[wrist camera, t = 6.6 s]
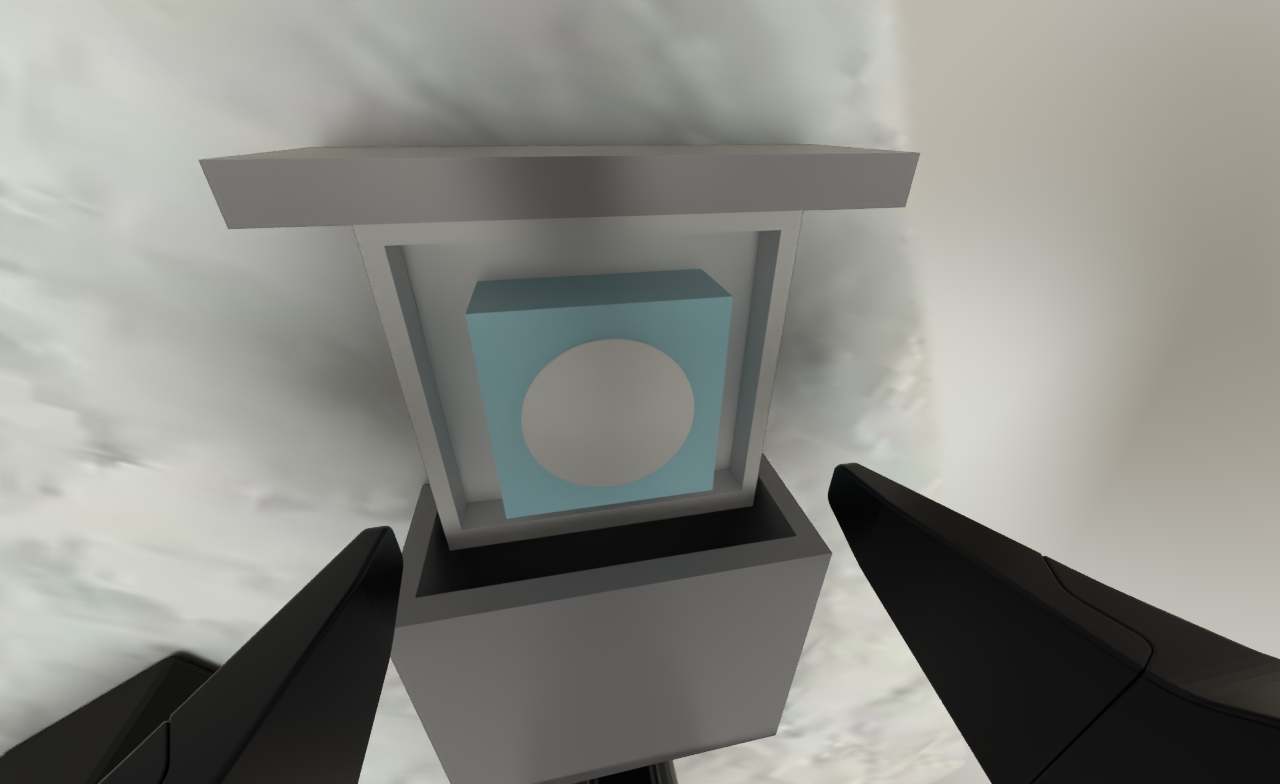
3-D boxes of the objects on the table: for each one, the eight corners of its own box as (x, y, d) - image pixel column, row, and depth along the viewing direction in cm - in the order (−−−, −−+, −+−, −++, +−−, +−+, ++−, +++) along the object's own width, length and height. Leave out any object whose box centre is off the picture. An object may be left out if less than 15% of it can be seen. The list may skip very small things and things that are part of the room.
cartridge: (689, 442, 16) (713, 493, 14) (510, 464, 15) (506, 522, 13) (701, 268, 13) (735, 298, 11) (477, 281, 12) (464, 317, 10)
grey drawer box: (728, 616, 24) (775, 734, 19) (478, 664, 22) (463, 809, 17) (757, 444, 18) (831, 553, 14) (422, 485, 16) (378, 631, 11)
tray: (757, 464, 18) (811, 547, 15) (425, 508, 16) (395, 617, 13) (810, 144, 13) (920, 152, 9) (312, 147, 10) (198, 159, 7)
